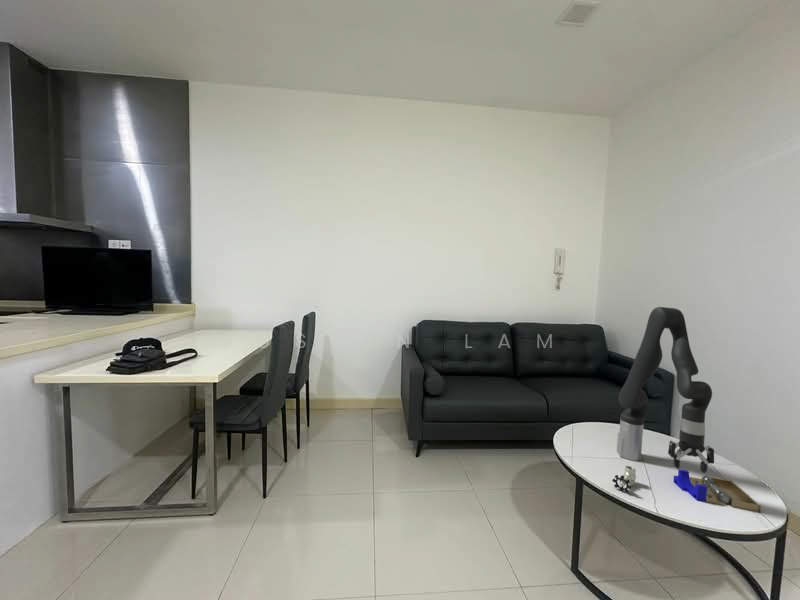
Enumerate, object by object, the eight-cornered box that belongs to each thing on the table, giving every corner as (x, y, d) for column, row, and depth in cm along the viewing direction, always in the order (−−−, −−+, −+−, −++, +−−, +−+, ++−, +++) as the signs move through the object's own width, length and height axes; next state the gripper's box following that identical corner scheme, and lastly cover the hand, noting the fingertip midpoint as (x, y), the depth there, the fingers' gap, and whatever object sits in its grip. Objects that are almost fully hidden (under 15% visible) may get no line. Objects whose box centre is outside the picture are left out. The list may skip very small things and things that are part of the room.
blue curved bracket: (673, 482, 141) (674, 468, 141) (685, 483, 141) (686, 470, 140) (692, 500, 130) (693, 485, 129) (705, 502, 129) (707, 487, 128)
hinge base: (705, 501, 129) (706, 493, 128) (684, 477, 145) (684, 470, 145) (760, 512, 123) (761, 503, 123) (731, 486, 140) (732, 478, 139)
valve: (622, 477, 143) (611, 487, 136) (623, 462, 143) (612, 472, 136) (640, 485, 138) (630, 496, 131) (641, 469, 138) (631, 480, 130)
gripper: (675, 431, 132) (673, 471, 133) (719, 437, 128) (717, 478, 129) (666, 424, 139) (664, 462, 140) (708, 429, 135) (706, 468, 136)
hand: (689, 469), depth 134 cm, fingers open, 8 cm apart
